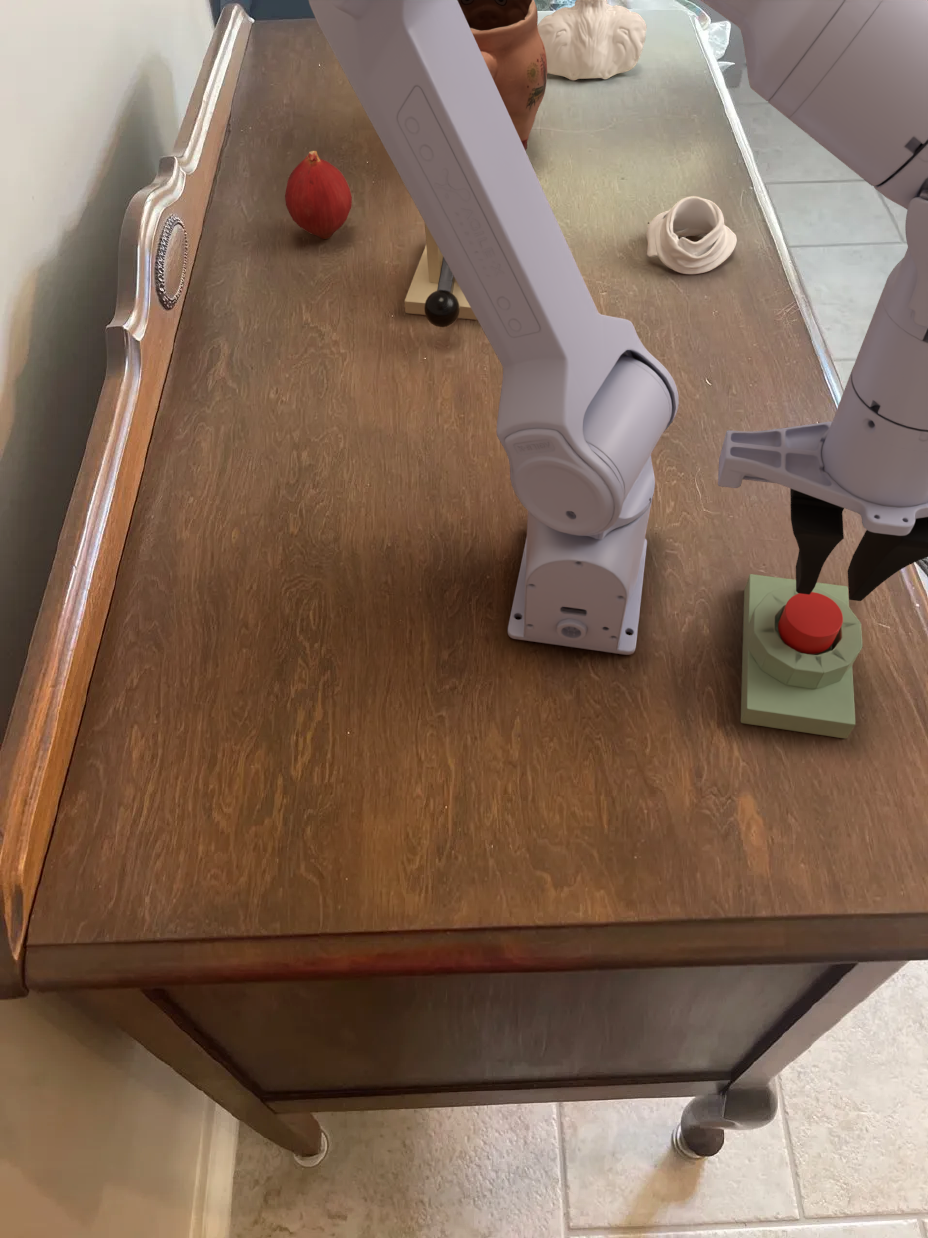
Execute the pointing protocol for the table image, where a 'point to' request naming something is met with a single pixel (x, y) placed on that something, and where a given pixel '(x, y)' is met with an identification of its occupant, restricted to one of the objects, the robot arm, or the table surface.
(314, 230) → the red squash
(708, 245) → the beige draped scarf
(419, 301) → the beige wooden stand
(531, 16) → the decorative planter
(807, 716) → the button block
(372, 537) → the table surface
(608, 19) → the bust
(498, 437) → the robot arm
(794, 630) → the button
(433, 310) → the lever
